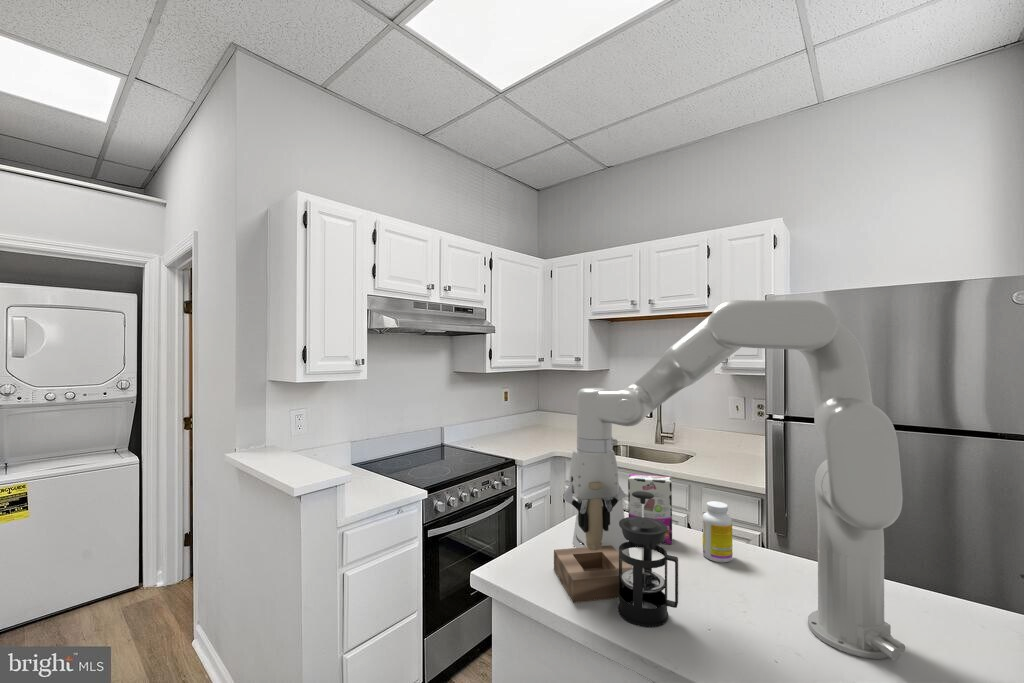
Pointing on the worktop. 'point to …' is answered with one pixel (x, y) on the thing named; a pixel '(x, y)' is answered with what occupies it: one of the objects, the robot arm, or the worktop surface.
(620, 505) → the grater
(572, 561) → the socket block
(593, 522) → the handle
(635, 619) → the french press
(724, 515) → the supplement bottle
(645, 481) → the candy bar box
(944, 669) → the worktop surface
